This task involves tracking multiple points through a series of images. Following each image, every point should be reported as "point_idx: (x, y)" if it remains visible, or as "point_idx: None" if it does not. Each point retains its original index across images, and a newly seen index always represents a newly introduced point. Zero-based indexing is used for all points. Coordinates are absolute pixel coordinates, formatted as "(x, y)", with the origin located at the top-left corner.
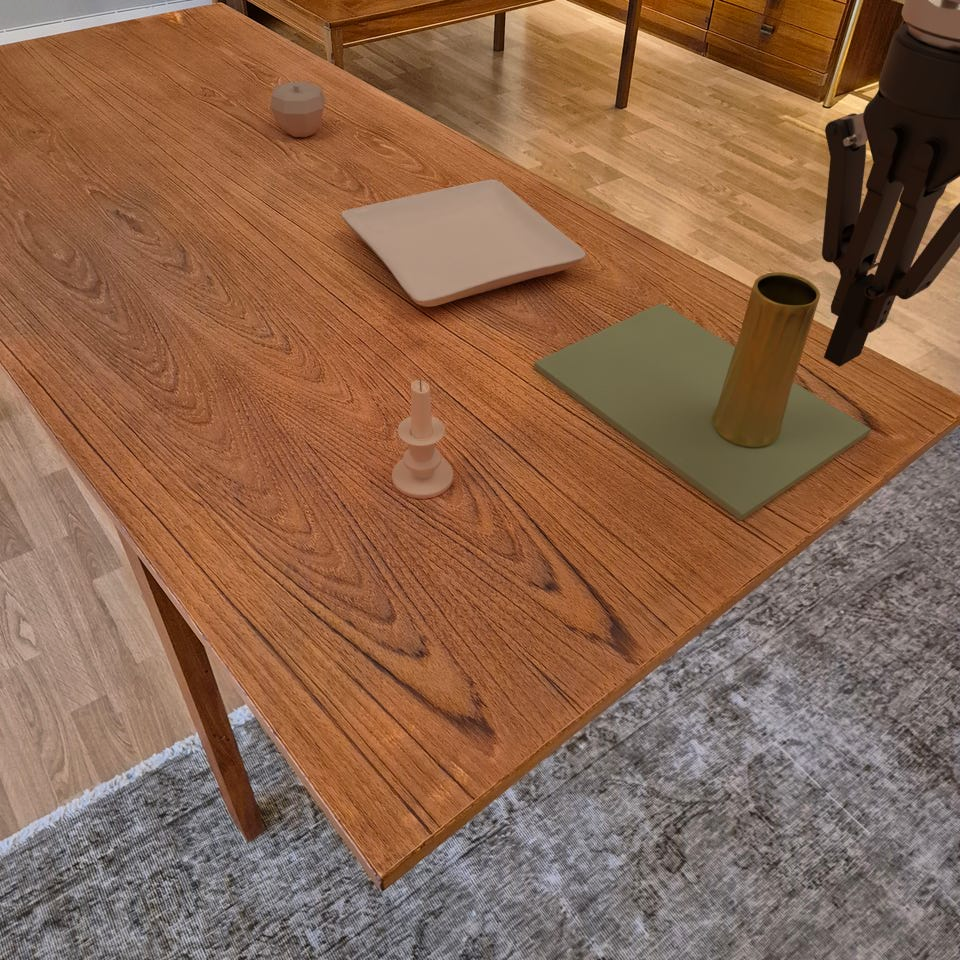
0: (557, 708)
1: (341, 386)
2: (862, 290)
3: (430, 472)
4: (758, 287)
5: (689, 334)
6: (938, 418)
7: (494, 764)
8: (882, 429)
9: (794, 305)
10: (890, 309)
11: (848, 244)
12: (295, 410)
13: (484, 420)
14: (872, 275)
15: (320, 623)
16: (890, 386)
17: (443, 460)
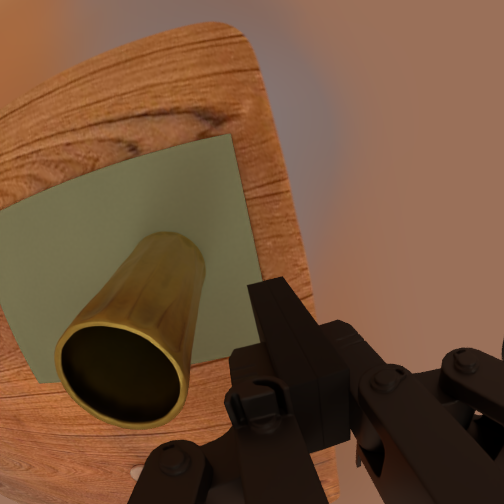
0: (328, 464)
1: (61, 466)
2: (334, 443)
3: None
4: (78, 381)
5: (17, 227)
6: (242, 46)
7: (333, 480)
8: (228, 112)
9: (177, 405)
10: (367, 343)
11: (210, 499)
12: (82, 485)
13: (98, 434)
14: (296, 393)
15: None
16: (173, 53)
17: (140, 468)
